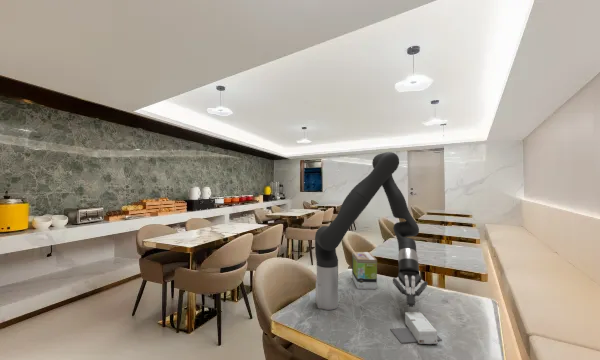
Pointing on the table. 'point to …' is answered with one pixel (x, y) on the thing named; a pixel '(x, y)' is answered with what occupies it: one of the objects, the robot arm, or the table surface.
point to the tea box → (364, 270)
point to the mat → (406, 335)
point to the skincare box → (421, 328)
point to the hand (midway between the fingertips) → (411, 305)
